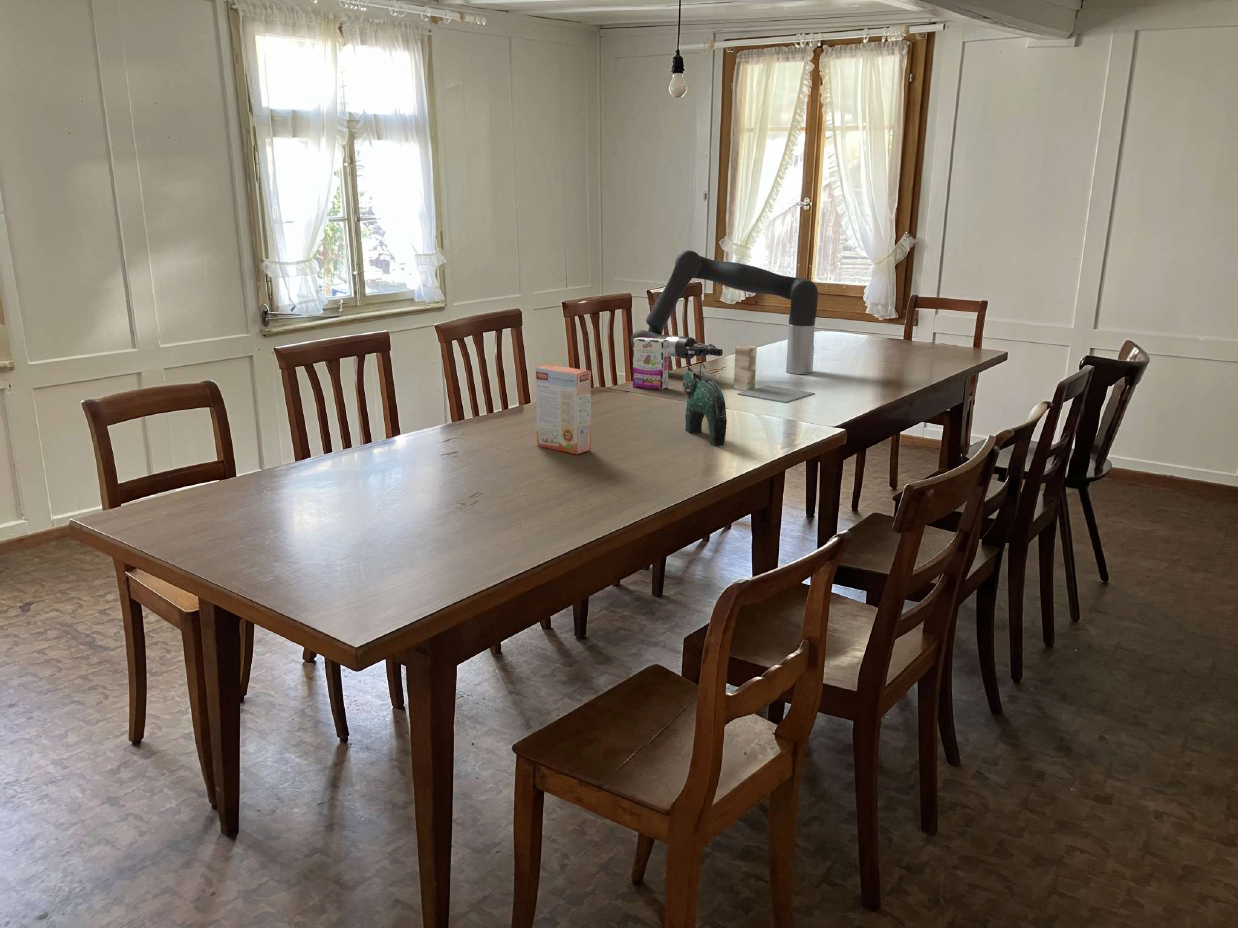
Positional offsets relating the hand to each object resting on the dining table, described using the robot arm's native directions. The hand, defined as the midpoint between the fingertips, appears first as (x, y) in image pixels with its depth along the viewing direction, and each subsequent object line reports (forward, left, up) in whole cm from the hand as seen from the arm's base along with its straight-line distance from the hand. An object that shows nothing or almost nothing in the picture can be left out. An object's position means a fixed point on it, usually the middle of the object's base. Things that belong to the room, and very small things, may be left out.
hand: (721, 352), depth 327 cm
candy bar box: (+20, -14, -11) cm, 27 cm away
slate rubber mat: (0, +22, -11) cm, 25 cm away
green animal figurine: (+60, +38, -11) cm, 72 cm away
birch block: (0, +10, -11) cm, 15 cm away
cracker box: (+94, +18, -11) cm, 96 cm away
